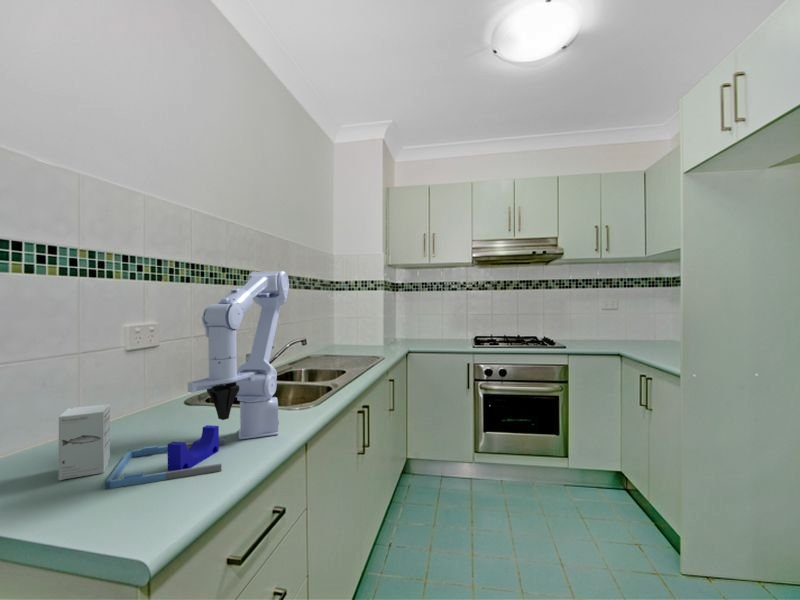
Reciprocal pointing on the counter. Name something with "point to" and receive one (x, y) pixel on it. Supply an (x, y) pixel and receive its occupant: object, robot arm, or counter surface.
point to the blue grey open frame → (140, 478)
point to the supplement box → (84, 441)
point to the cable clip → (193, 450)
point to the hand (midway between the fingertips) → (223, 418)
